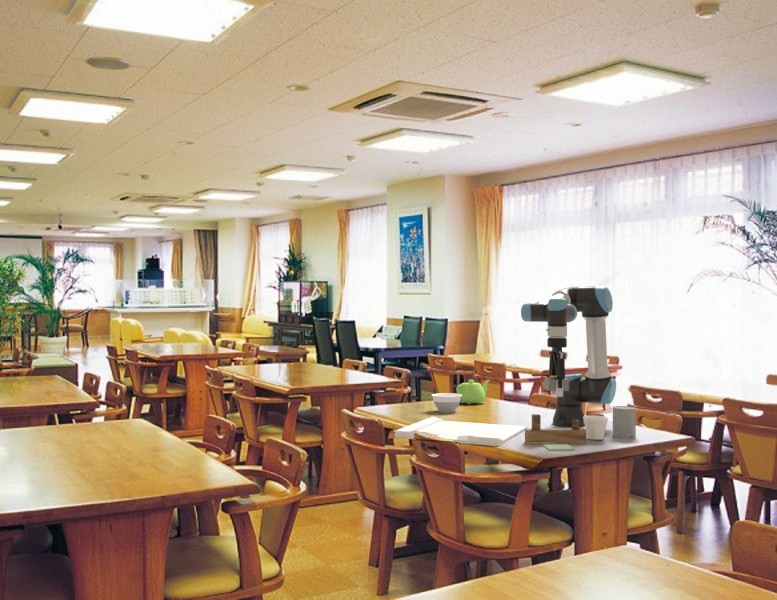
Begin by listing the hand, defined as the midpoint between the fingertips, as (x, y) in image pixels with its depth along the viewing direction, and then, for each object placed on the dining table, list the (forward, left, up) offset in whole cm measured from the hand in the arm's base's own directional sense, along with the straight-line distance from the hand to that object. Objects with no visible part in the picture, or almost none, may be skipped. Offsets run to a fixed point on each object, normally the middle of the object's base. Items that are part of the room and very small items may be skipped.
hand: (556, 395), depth 315 cm
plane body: (-8, +2, -20) cm, 22 cm away
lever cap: (0, 0, +2) cm, 2 cm away
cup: (-15, +21, -20) cm, 33 cm away
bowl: (-100, -29, -20) cm, 106 cm away
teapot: (-131, -9, -20) cm, 132 cm away
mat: (+3, 0, -20) cm, 20 cm away
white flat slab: (-33, -32, -21) cm, 50 cm away
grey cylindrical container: (-20, +35, -20) cm, 46 cm away
